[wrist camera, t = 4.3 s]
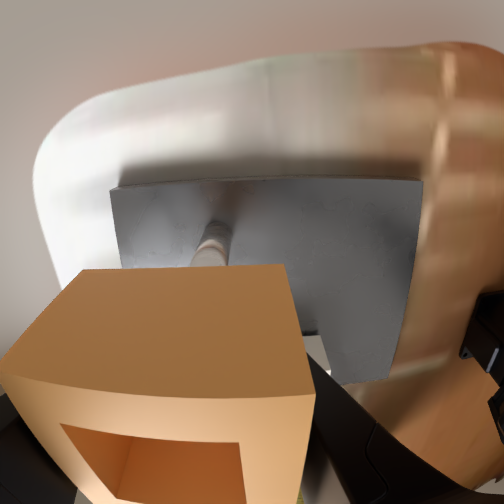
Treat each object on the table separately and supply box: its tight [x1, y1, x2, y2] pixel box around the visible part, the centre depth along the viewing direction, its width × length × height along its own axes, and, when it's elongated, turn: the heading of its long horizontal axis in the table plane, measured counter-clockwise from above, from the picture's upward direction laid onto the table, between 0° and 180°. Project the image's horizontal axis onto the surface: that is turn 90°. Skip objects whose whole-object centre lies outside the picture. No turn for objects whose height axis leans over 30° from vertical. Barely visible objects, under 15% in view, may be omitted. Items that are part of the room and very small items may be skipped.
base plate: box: [110, 175, 423, 385], centre depth 18 cm, size 18×15×6 cm
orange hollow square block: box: [0, 264, 316, 504], centre depth 6 cm, size 5×5×4 cm
